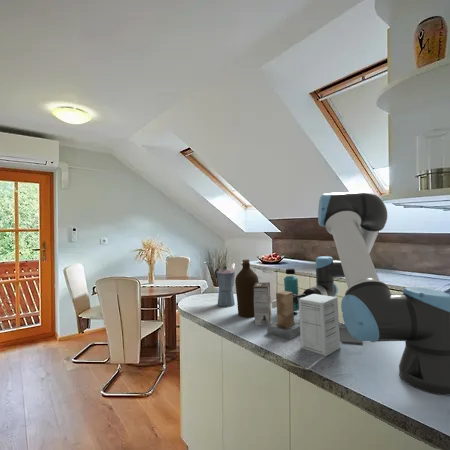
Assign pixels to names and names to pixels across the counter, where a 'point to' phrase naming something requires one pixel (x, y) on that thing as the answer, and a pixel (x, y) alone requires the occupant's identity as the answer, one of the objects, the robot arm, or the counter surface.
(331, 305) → the supplement box
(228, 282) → the moka pot
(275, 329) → the post base
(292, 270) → the beverage bottle
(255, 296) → the coffee box
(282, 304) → the wooden peg
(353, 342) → the rubber mat
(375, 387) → the counter surface
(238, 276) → the olive oil
